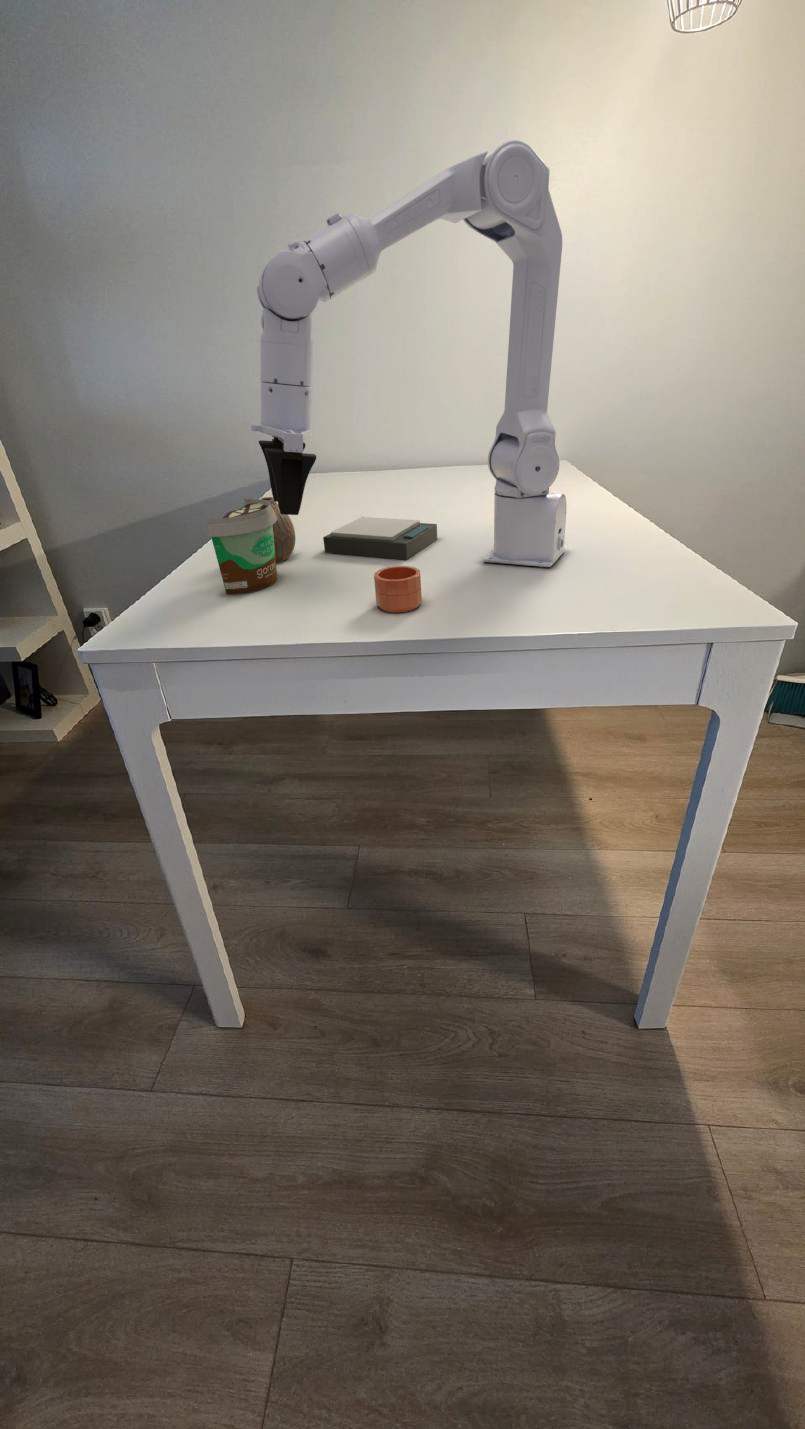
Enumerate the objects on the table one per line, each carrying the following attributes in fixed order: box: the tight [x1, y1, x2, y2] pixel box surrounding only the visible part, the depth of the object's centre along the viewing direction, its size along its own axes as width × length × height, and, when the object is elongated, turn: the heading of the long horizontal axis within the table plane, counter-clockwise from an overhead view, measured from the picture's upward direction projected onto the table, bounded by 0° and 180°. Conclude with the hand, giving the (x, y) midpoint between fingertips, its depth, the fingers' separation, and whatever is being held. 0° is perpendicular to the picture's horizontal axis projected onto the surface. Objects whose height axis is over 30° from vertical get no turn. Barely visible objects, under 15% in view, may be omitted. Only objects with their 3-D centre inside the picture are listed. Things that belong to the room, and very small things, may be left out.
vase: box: [259, 496, 296, 563], centre depth 95 cm, size 7×7×9 cm
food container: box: [206, 497, 278, 595], centre depth 85 cm, size 12×6×10 cm, turn 168°
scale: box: [322, 516, 438, 561], centre depth 99 cm, size 14×11×3 cm
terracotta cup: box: [373, 565, 423, 614], centre depth 76 cm, size 5×6×4 cm
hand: (285, 507), depth 79 cm, fingers open, 7 cm apart
